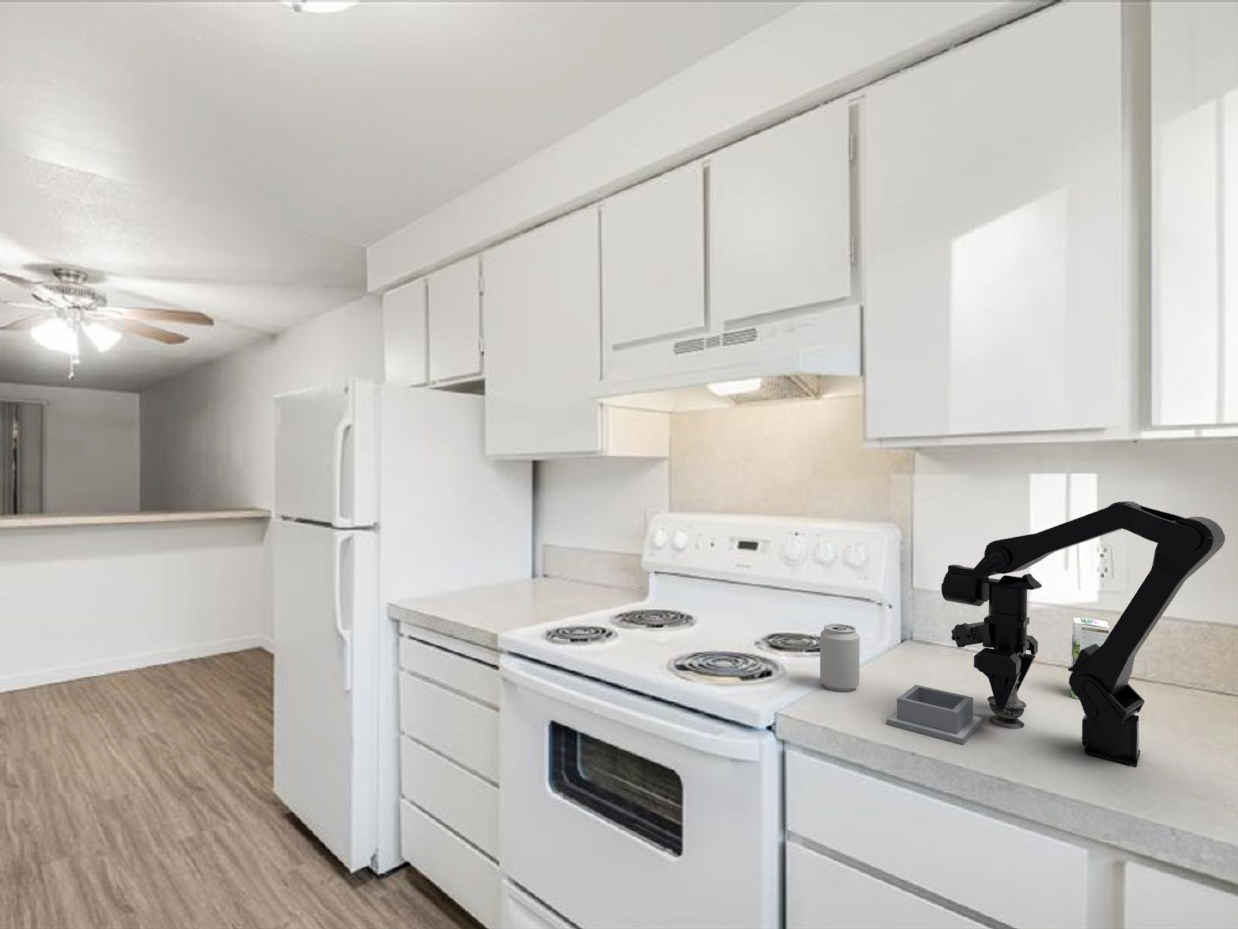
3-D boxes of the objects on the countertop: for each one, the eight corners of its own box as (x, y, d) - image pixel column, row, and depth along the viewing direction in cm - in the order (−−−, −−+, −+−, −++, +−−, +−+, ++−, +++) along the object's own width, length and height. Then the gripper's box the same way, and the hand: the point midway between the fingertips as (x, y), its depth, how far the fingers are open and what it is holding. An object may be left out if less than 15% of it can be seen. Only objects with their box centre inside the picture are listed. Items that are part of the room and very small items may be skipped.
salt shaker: (1032, 730, 111) (1032, 659, 111) (993, 727, 112) (994, 657, 112) (1018, 717, 117) (1019, 649, 117) (982, 714, 118) (982, 647, 118)
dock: (982, 722, 115) (982, 697, 114) (963, 744, 106) (963, 717, 106) (910, 705, 123) (910, 681, 122) (886, 724, 114) (887, 698, 114)
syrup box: (1070, 689, 131) (1070, 616, 131) (1106, 695, 128) (1107, 620, 128) (1072, 698, 126) (1072, 622, 126) (1110, 704, 123) (1111, 626, 123)
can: (855, 681, 136) (856, 622, 136) (862, 694, 128) (863, 632, 128) (817, 679, 137) (818, 621, 137) (822, 691, 130) (822, 630, 129)
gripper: (971, 596, 127) (970, 678, 127) (941, 613, 113) (940, 704, 113) (1039, 605, 119) (1037, 692, 120) (1016, 624, 106) (1014, 722, 106)
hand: (1006, 701), depth 115 cm, fingers closed on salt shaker, 8 cm apart
